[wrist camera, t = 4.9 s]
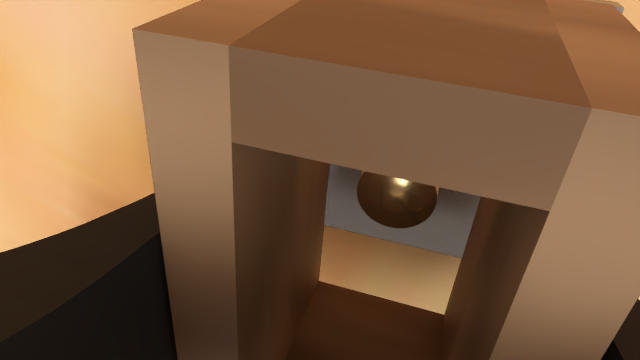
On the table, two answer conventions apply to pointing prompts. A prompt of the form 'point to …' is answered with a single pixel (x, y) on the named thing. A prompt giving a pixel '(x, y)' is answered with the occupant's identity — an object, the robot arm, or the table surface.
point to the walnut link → (395, 170)
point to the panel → (402, 207)
